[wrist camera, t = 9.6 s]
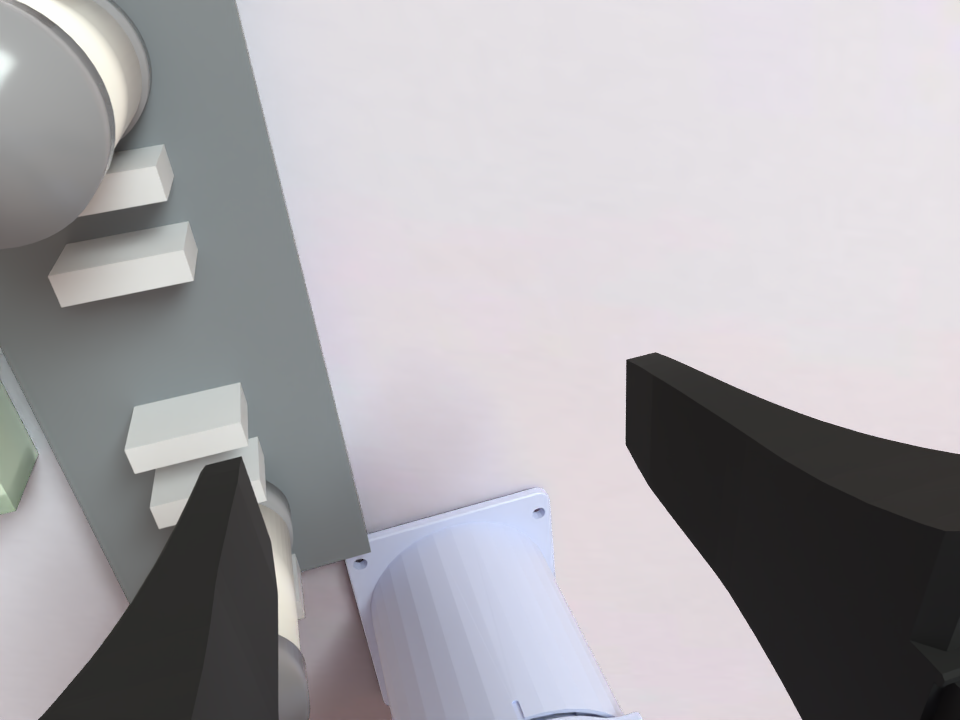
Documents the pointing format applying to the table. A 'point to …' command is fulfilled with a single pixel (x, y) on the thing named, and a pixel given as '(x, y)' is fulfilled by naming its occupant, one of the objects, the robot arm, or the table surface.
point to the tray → (13, 455)
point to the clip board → (182, 316)
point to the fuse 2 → (286, 609)
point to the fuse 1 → (63, 108)
